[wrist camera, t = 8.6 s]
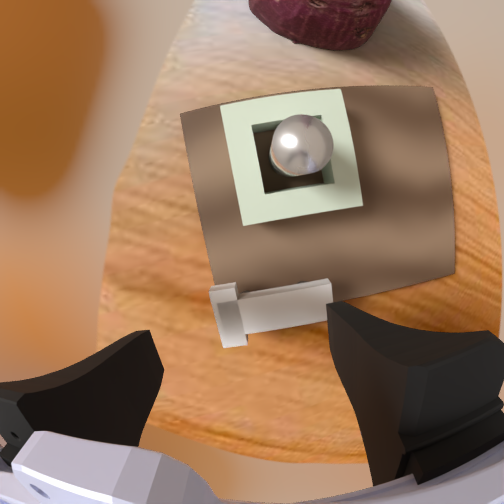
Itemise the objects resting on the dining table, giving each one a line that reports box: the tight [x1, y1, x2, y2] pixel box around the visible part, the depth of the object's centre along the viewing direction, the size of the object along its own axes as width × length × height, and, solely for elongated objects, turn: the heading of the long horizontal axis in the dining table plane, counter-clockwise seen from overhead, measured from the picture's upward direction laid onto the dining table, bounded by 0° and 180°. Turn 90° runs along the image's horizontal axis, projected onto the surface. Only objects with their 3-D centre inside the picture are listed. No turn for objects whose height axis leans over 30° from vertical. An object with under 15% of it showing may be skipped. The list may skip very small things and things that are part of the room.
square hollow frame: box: [220, 89, 363, 226], centre depth 17 cm, size 7×7×3 cm
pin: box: [269, 114, 334, 177], centre depth 15 cm, size 3×3×7 cm
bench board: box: [180, 86, 455, 348], centre depth 18 cm, size 16×19×4 cm
